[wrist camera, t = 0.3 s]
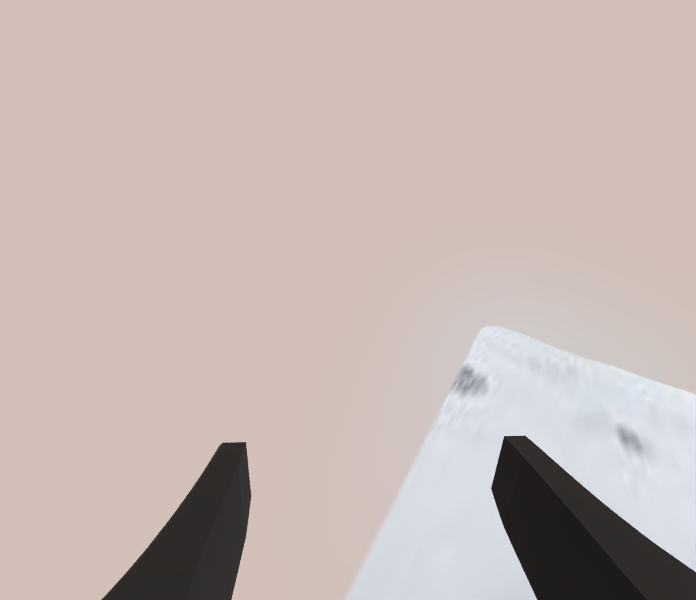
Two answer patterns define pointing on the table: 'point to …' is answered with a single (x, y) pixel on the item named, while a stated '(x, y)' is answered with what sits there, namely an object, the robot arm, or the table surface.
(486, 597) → the table surface
